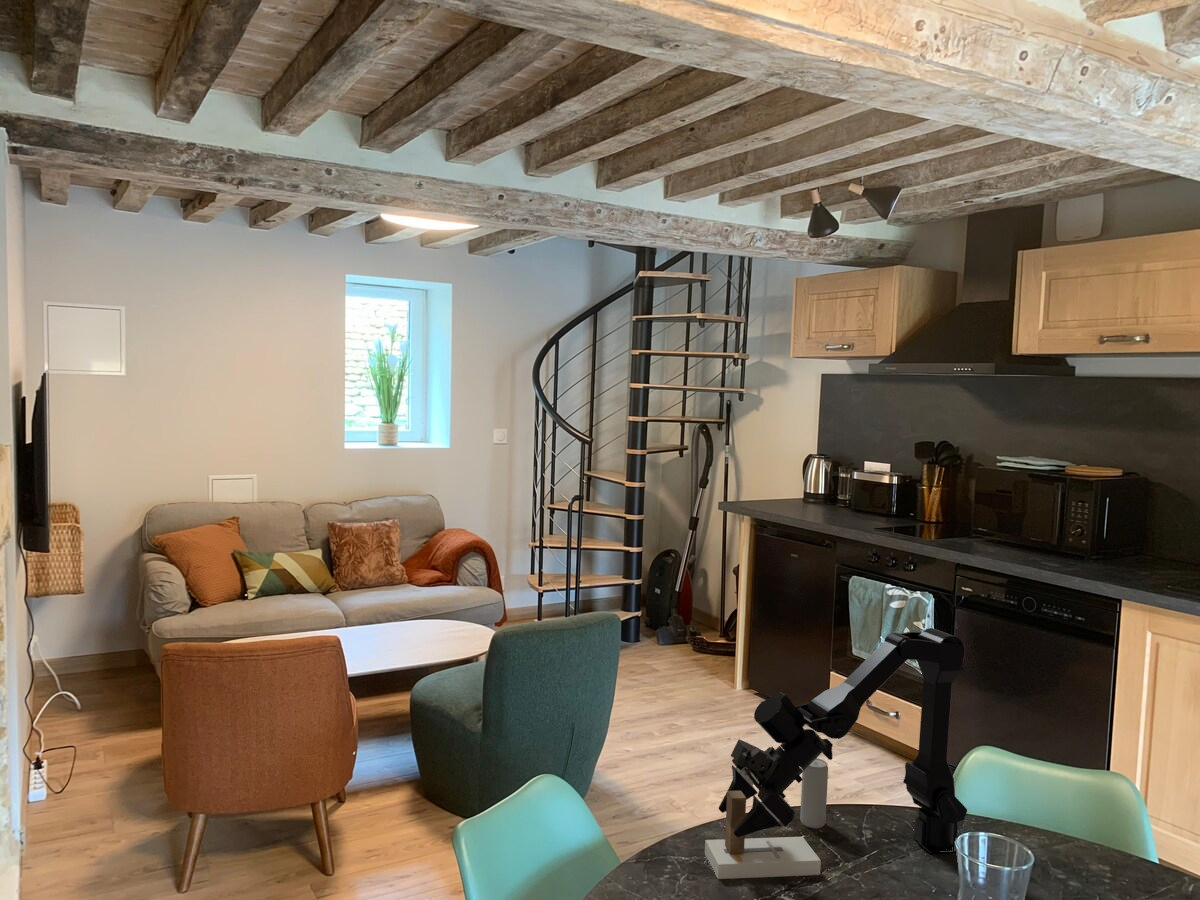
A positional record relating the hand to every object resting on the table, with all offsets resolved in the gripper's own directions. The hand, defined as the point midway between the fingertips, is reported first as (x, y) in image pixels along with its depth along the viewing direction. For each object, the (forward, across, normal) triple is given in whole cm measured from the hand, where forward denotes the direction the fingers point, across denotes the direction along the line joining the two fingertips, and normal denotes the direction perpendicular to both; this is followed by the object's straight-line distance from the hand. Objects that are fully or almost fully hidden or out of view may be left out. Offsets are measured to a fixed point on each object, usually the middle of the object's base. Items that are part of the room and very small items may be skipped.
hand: (727, 822), depth 155 cm
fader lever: (+2, 0, +4) cm, 5 cm away
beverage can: (-10, -14, +21) cm, 27 cm away
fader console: (+1, 0, +10) cm, 10 cm away
